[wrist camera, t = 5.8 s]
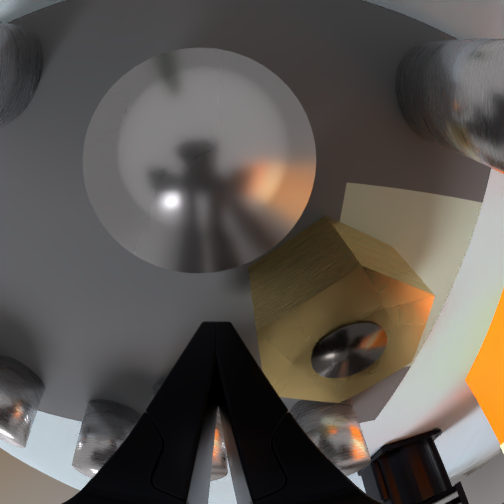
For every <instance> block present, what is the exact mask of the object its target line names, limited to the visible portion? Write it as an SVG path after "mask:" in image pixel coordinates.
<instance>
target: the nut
mask: <svg viewBox="0 0 504 504" xmlns="http://www.w3.org/2000/svg"><path fill="white" fill-rule="evenodd" d="M248 271H249V278H250V286H251V294H252V301H253V309H254V317H255V324H256V332H257V339H258V345H259V352H260V359H261V366H262V371H263V373H264V374H265V376H266V377H267V379H268V380H269V382H270V383H271V385H272V386H273V388H274V389H275V391H276V392H277V394H278V395H279V397H285V398H293V399H302V400H311V401H321V402H333V403H340V402H342V401H344V400H346V399H348V398H350V397H352V396H354V395H356V394H358V393H360V392H362V391H364V390H365V389H367V388H369V387H371V386H373V385H374V384H376V383H378V382H380V381H382V380H383V379H385V378H387V377H388V376H390V375H392V374H393V373H395V372H397V371H398V370H400V369H402V368H403V367H405V366H406V365H408V364H410V363H411V362H412V361H413V358H414V356H415V353H416V351H417V348H418V345H419V343H420V340H421V337H422V334H423V332H424V329H425V326H426V323H427V320H428V317H429V314H430V311H431V307H432V304H433V301H434V297H435V295H434V294H433V293H432V291H431V290H430V289H429V288H428V287H427V285H426V284H425V283H424V282H423V281H422V279H421V278H420V277H419V276H418V275H417V274H416V272H415V271H414V270H413V269H412V268H411V267H410V266H409V264H408V263H407V262H406V261H405V260H404V259H403V258H402V257H401V255H400V254H399V253H398V252H397V251H396V250H395V249H394V248H393V247H392V246H390V245H388V244H386V243H384V242H382V241H380V240H378V239H376V238H374V237H372V236H369V235H367V234H365V233H363V232H361V231H359V230H357V229H354V228H352V227H350V226H348V225H346V224H343V223H341V222H339V221H337V220H335V219H332V218H330V217H328V216H324V217H322V218H321V219H319V220H318V221H316V222H315V223H313V224H312V225H311V226H309V227H308V228H306V229H305V230H303V231H302V232H300V233H299V234H297V235H296V236H294V237H293V238H291V239H290V240H288V241H287V242H285V243H284V244H282V245H281V246H279V247H278V248H276V249H275V250H273V251H272V252H270V253H269V254H267V255H266V256H264V257H263V258H261V259H260V260H258V261H257V262H255V263H254V264H252V265H251V266H249V267H248Z"/></svg>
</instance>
